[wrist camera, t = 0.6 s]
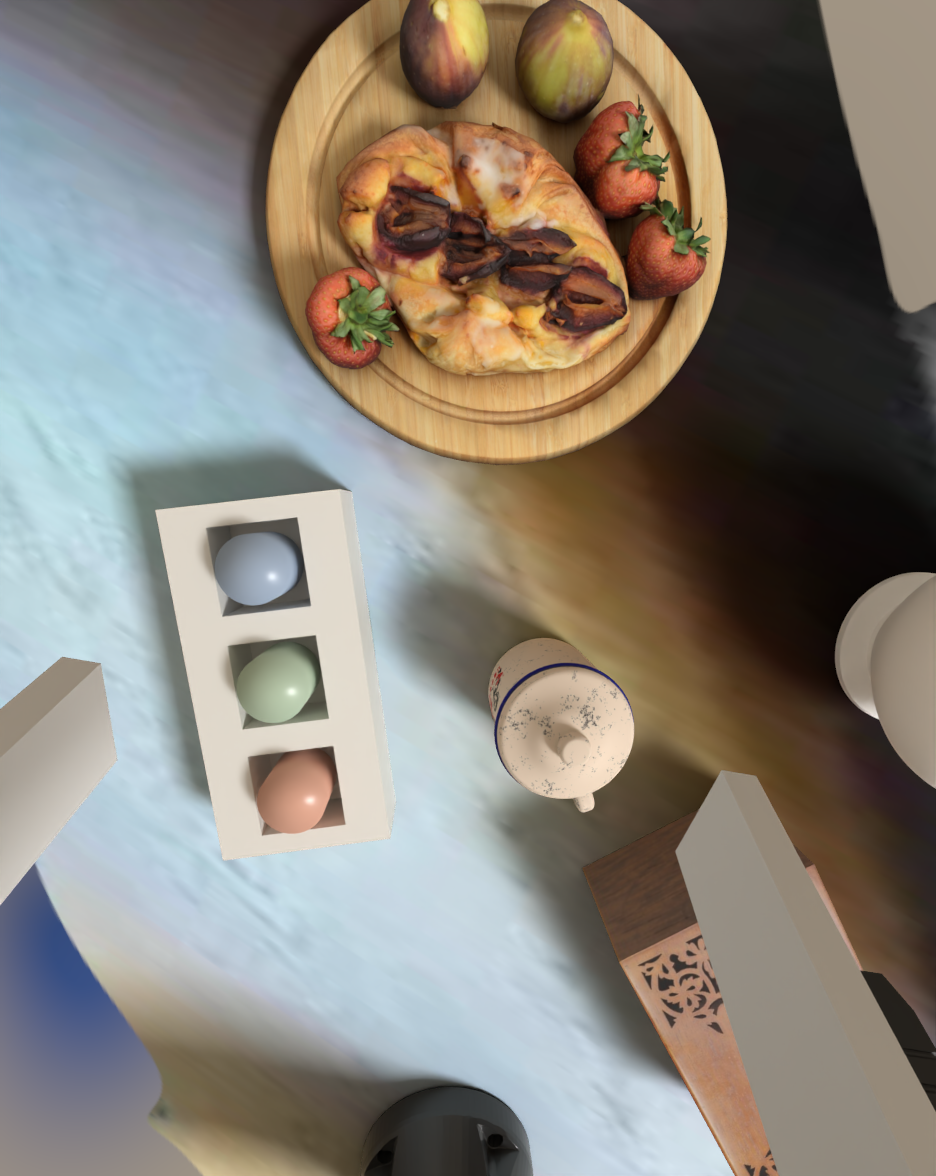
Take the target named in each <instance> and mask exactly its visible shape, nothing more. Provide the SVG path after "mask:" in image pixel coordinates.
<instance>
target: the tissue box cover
mask: <svg viewBox="0 0 936 1176" xmlns="http://www.w3.org/2000/svg"><path fill="white" fill-rule="evenodd" d="M698 811H699V809H698V810H696V811H694V812H692V813H690V814H688V815H686V816H684V817H682V818H680V819H678V820H676V821H674V822H672V823H670V824H668V825H666V826H664V827H662V828H660V829H659V830H657V831H655V832H653V833H651V834H649V835H647V836H645V837H643V838H641V839H639V840H637V841H635V842H633V843H631V844H629V845H627V846H625V847H623V848H621V849H619V850H617V851H615V852H613V853H611V854H609V855H607V856H605V857H603V858H601V859H599V860H597V861H595V862H593V863H591V864H589V865H587V866H585V867H583V868H582V869H583V872H584V874H585V877H586V879H587V882H588V884H589V887H590V889H591V892H592V895H593V897H594V900H595V902H596V905H597V907H598V910H599V912H600V915H601V918H602V920H603V923H604V925H605V928H606V930H607V933H608V935H609V938H610V941H611V943H612V946H613V948H614V951H615V953H616V956H617V959H618V961H619V963H620V965H621V967H622V969H623V971H624V972H625V974H626V976H627V978H628V980H629V982H630V983H631V985H632V987H633V989H634V991H635V993H636V994H637V996H638V998H639V1000H640V1002H641V1004H642V1006H643V1007H644V1009H645V1011H646V1013H647V1015H648V1017H649V1018H650V1020H651V1022H652V1024H653V1026H654V1028H655V1029H656V1031H657V1033H658V1035H659V1037H660V1039H661V1040H662V1042H663V1044H664V1046H665V1048H666V1050H667V1052H668V1053H669V1055H670V1057H671V1059H672V1061H673V1063H674V1064H675V1066H676V1068H677V1070H678V1072H679V1074H680V1075H681V1077H682V1079H683V1081H684V1083H685V1085H686V1087H687V1088H688V1090H689V1092H690V1094H691V1096H692V1098H693V1099H694V1101H695V1103H696V1105H697V1107H698V1109H699V1110H700V1112H701V1114H702V1116H703V1118H704V1120H705V1121H706V1123H707V1125H708V1127H709V1129H710V1131H711V1133H712V1134H713V1136H714V1138H715V1140H716V1142H717V1144H718V1145H719V1147H720V1149H721V1151H722V1153H723V1155H724V1156H725V1158H726V1160H727V1162H728V1164H729V1166H730V1168H731V1169H732V1171H733V1173H734V1175H735V1176H779V1175H778V1172H777V1168H776V1165H775V1162H774V1159H773V1156H772V1153H771V1150H770V1146H769V1143H768V1140H767V1137H766V1134H765V1131H764V1128H763V1125H762V1121H761V1118H760V1115H759V1112H758V1109H757V1106H756V1103H755V1100H754V1096H753V1093H752V1090H751V1087H750V1084H749V1081H748V1078H747V1074H746V1071H745V1068H744V1065H743V1062H742V1059H741V1056H740V1053H739V1049H738V1046H737V1043H736V1040H735V1037H734V1034H733V1031H732V1028H731V1024H730V1021H729V1018H728V1015H727V1012H726V1009H725V1006H724V1002H723V999H722V996H721V993H720V990H719V987H718V984H717V981H716V977H715V974H714V971H713V968H712V965H711V962H710V959H709V955H708V952H707V949H706V946H705V943H704V940H703V937H702V934H701V930H700V927H699V924H698V921H697V918H696V915H695V912H694V909H693V905H692V902H691V899H690V896H689V893H688V890H687V887H686V883H685V880H684V877H683V874H682V871H681V868H680V865H679V862H678V858H677V855H676V852H675V851H676V849H677V848H678V846H679V844H680V842H681V841H682V839H683V837H684V835H685V834H686V832H687V830H688V828H689V827H690V825H691V823H692V821H693V820H694V818H695V816H696V814H697V813H698ZM793 846H794V845H793ZM794 848H795V850H796V852H797V854H798V856H799V857H800V859H801V861H802V863H803V865H804V867H805V869H806V870H807V872H808V874H809V876H810V878H811V880H812V882H813V884H814V885H815V887H816V889H817V891H818V893H819V895H820V897H821V898H822V900H823V902H824V904H825V906H826V908H827V910H828V912H829V913H830V915H831V917H832V919H833V921H834V923H835V925H836V927H837V928H838V930H839V932H840V934H841V936H842V938H843V940H844V941H845V943H846V945H847V947H848V949H849V951H850V953H851V955H852V956H853V958H854V960H855V962H856V964H857V966H858V968H859V969H860V971H863V969H862V967H861V964H860V962H859V960H858V958H857V956H856V954H855V951H854V949H853V947H852V945H851V943H850V941H849V939H848V936H847V934H846V932H845V930H844V928H843V926H842V923H841V921H840V919H839V917H838V915H837V913H836V910H835V908H834V906H833V904H832V902H831V900H830V898H829V895H828V893H827V891H826V889H825V887H824V885H823V882H822V880H821V878H820V876H819V874H818V872H817V869H816V867H815V865H814V864H813V863H812V862H811V861H810V860H809V859H808V858H807V857H806V856H805V855H804V854H803V853H802V852H801V851H800V850H799V849H798V848H796V847H795V846H794Z"/></svg>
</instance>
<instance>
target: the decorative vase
mask: <svg viewBox="0 0 936 1176" xmlns="http://www.w3.org/2000/svg"><path fill="white" fill-rule="evenodd" d="M835 666H836V672H837V676H838V679H839V682H840V684H841V686H842V688H843V690H844V692H845V693H846V695H847V696H848V698H849V699H850V700H851V701H852V702H853V703H854V704H855V705H856V706H857V707H858V708H859V709H861V710H862V711H864V712H865V713H867V714H869V715H871V716H873V717H875V718H877V719H879V720H880V723H881V725H882V727H883V730H884V732H885V734H886V736H887V738H888V740H889V741H890V743H891V745H892V746H893V748H894V749H895V751H896V752H897V753H898V755H899V756H900V757H901V758H902V760H903V761H904V762H905V763H906V764H907V765H908V766H909V767H910V768H911V769H912V770H913V771H914V772H915V773H916V774H917V775H918V776H919V777H920V778H922V779H923V780H924V781H926V782H927V783H928V784H930V785H931V786H932V787H934V788H935V789H936V574H934V573H926V572H912V573H905V574H900V575H897V576H893V577H891V578H888V579H886V580H884V581H882V582H880V583H878V584H877V585H875V586H874V587H872V588H871V589H869V590H868V591H867V592H866V593H864V594H863V595H862V596H861V597H860V598H859V599H858V600H857V601H856V603H855V604H854V605H853V606H852V608H851V609H850V610H849V612H848V614H847V615H846V617H845V619H844V621H843V623H842V625H841V628H840V630H839V633H838V637H837V641H836V647H835Z"/></svg>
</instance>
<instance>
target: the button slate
mask: <svg viewBox="0 0 936 1176" xmlns="http://www.w3.org/2000/svg"><path fill="white" fill-rule="evenodd" d="M303 569H304V562H303V556H302V554H301V551H300V549H299V548H298V546H297V545H296V544H295V542H294V541H293V540H291V539H290V538H289V537H287V536H285V535H283V534H281V533H277V532H270V531H269V532H258V533H250V534H243V535H239V536H236V537H234V538H232V539H230V540H229V541H227V542H226V543H225V544H224V545H223V546H222V547H221V549H220V550H219V552H218V554H217V557H216V561H215V575H216V579H217V581H218V584H219V586H220V587H221V589H222V590H223V591H224V593H225V594H226V595H227V596H229V597H230V598H231V599H233V600H234V601H236V602H239V603H241V604H245V605H261V604H265V603H267V602H269V601H272V600H273V599H275V598H277V597H279V596H281V595H283V594H285V593H287V592H289V591H290V590H292V589H293V588H294V587H295V586H296V585H297V584H298V582H299V581H300V579H301V577H302V574H303Z"/></svg>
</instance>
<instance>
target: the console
mask: <svg viewBox="0 0 936 1176" xmlns="http://www.w3.org/2000/svg"><path fill="white" fill-rule="evenodd" d="M155 511H156V517H157V522H158V527H159V532H160V537H161V542H162V548H163V553H164V558H165V563H166V568H167V573H168V579H169V584H170V589H171V594H172V599H173V604H174V610H175V615H176V620H177V625H178V630H179V635H180V641H181V646H182V651H183V656H184V661H185V666H186V672H187V677H188V682H189V687H190V692H191V697H192V703H193V708H194V713H195V718H196V723H197V728H198V734H199V739H200V744H201V749H202V754H203V759H204V765H205V770H206V775H207V780H208V785H209V790H210V795H211V801H212V806H213V811H214V816H215V821H216V826H217V832H218V837H219V842H220V847H221V852H222V857H223V861H224V860H231V859H239V858H246V857H254V856H262V855H269V854H277V853H284V852H292V851H299V850H307V849H315V848H322V847H330V846H337V845H345V844H352V843H360V842H368V841H375V840H383V839H390V837H391V831H392V824H393V818H394V812H395V806H396V798H395V791H394V784H393V777H392V770H391V763H390V756H389V749H388V742H387V735H386V728H385V721H384V714H383V707H382V700H381V693H380V686H379V679H378V671H377V664H376V657H375V650H374V643H373V636H372V629H371V622H370V615H369V608H368V601H367V594H366V587H365V580H364V573H363V566H362V559H361V552H360V545H359V538H358V531H357V524H356V517H355V510H354V503H353V496H352V492H350V491H346V490H341V489H336V490H327V491H318V492H310V493H301V494H292V495H283V496H274V497H265V498H257V499H248V500H239V501H230V502H221V503H213V504H204V505H195V506H186V507H177V508H168V509H160V510H155ZM269 531H270V532H277V533H281V534H283V535H285V536H287V537H289V538H290V539H291V540H293V541H294V542H295V544H296V545H297V546H298V548H299V549H300V551H301V554H302V556H303V562H304V569H303V574H302V577H301V579H300V581H299V582H298V584H297V585H296V586H295V587H294V588H293V589H292V590H290V591H289V592H287V593H285V594H283V595H281V596H279V597H277V598H275V599H273V600H272V601H269V602H267V603H265V604H261V605H245V604H241V603H239V602H236V601H234V600H233V599H231V598H230V597H229V596H227V595H226V594H225V593H224V591H223V590H222V589H221V587H220V586H219V584H218V581H217V579H216V575H215V561H216V557H217V554H218V552H219V550H220V549H221V547H222V546H223V545H224V544H225V543H226V542H227V541H229V540H230V539H232V538H234V537H236V536H239V535H243V534H250V533H258V532H269ZM280 642H296V643H299V644H302V645H304V646H305V647H307V648H308V649H310V650H311V651H312V652H313V653H314V655H315V656H316V658H317V660H318V662H319V664H320V670H321V677H320V681H319V684H318V686H317V688H316V689H315V691H314V692H313V694H312V695H311V696H310V698H309V699H308V701H307V702H306V703H305V705H304V706H303V708H302V709H301V710H300V711H299V713H298V714H296V715H295V716H294V717H292V718H291V719H289V720H287V721H284V722H280V723H267V722H262V721H259V720H257V719H255V718H253V717H252V716H250V715H249V714H248V713H247V712H246V711H245V710H244V709H243V707H242V706H241V704H240V702H239V699H238V696H237V681H238V677H239V675H240V673H241V671H242V670H243V669H244V667H245V666H246V665H247V664H249V663H250V662H251V661H252V660H254V659H255V658H256V657H257V656H259V655H260V654H261V653H263V652H264V651H265V650H266V649H268V648H269V647H271V646H272V645H274V644H277V643H280ZM313 748H319V749H321V750H323V751H324V752H326V753H327V754H328V755H329V756H330V757H331V759H332V760H333V762H334V764H335V767H336V771H337V779H336V783H335V786H334V788H333V791H332V793H331V796H330V798H329V801H328V803H327V806H326V808H325V811H324V813H323V816H322V817H321V819H320V820H319V822H318V823H317V824H316V825H315V826H314V827H312V828H311V829H309V830H307V831H305V832H301V833H296V834H287V833H282V832H279V831H277V830H275V829H273V828H271V827H270V826H269V825H267V824H266V823H265V821H264V820H263V819H262V817H261V816H260V813H259V811H258V807H257V796H258V792H259V790H260V788H261V786H262V784H263V783H264V781H265V780H266V778H267V777H268V775H269V774H270V772H271V771H272V769H273V768H274V766H275V765H276V763H277V762H278V760H279V759H280V757H281V756H282V755H283V754H284V753H285V752H289V751H297V750H305V749H313Z"/></svg>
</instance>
